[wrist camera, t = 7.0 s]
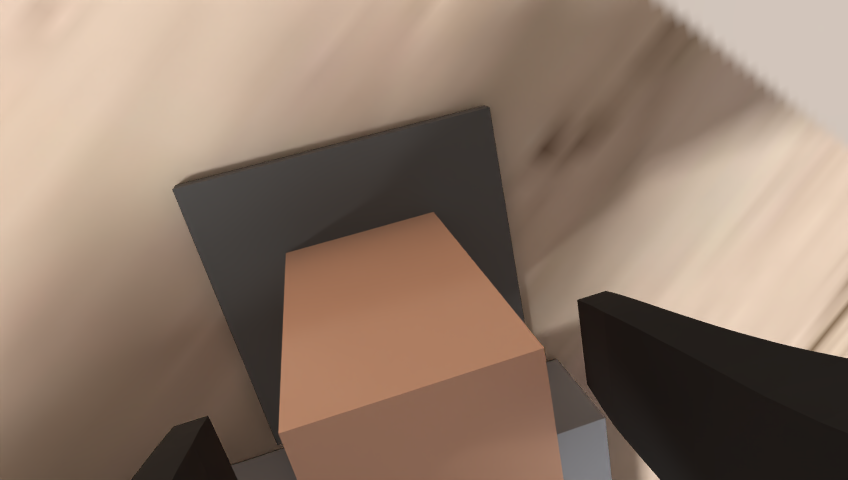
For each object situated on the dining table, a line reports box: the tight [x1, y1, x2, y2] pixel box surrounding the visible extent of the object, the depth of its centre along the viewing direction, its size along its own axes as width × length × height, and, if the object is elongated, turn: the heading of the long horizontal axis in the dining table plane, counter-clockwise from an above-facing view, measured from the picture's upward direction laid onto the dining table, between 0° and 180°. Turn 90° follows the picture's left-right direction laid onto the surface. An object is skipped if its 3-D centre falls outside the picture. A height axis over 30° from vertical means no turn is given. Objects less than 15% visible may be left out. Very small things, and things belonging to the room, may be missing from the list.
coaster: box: [172, 106, 525, 445], centre depth 15 cm, size 8×8×1 cm
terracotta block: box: [278, 212, 564, 480], centre depth 12 cm, size 4×4×7 cm
